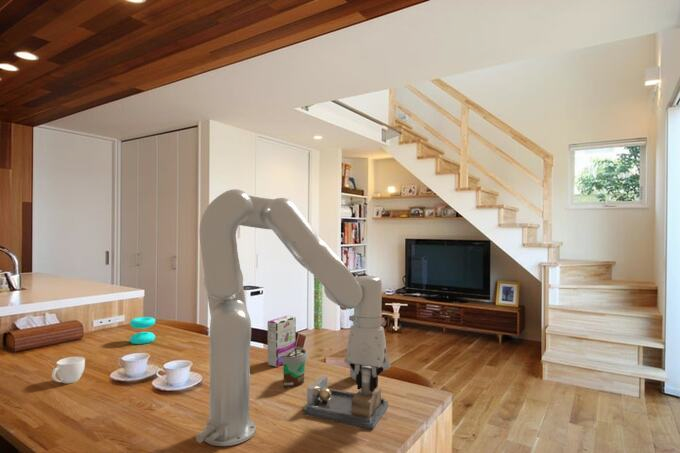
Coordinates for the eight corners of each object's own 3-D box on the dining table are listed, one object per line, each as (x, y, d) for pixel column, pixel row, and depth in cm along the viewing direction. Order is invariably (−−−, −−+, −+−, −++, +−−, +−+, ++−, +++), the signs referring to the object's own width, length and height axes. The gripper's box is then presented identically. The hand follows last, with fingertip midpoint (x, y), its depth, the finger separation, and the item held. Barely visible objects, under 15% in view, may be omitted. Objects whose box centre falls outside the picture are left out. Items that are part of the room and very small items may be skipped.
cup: (90, 378, 133) (90, 358, 133) (61, 389, 124) (61, 368, 124) (73, 375, 135) (73, 355, 135) (43, 386, 126) (43, 365, 126)
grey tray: (373, 429, 101) (373, 403, 101) (302, 414, 109) (303, 390, 109) (388, 406, 114) (388, 384, 114) (324, 394, 122) (324, 373, 122)
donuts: (137, 316, 180) (159, 316, 180) (137, 338, 180) (159, 338, 180) (125, 321, 170) (148, 321, 170) (124, 344, 170) (148, 345, 170)
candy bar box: (286, 357, 157) (286, 315, 157) (296, 359, 154) (296, 316, 154) (266, 365, 147) (266, 320, 147) (276, 367, 145) (277, 322, 145)
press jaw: (369, 417, 104) (369, 375, 104) (351, 414, 106) (351, 372, 106) (380, 402, 113) (381, 363, 113) (363, 399, 115) (364, 361, 115)
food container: (301, 391, 125) (301, 359, 125) (282, 389, 126) (282, 357, 126) (311, 376, 137) (312, 347, 137) (294, 375, 138) (294, 346, 138)
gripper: (334, 321, 109) (333, 389, 109) (393, 328, 103) (392, 399, 103) (344, 316, 116) (344, 379, 116) (400, 321, 110) (399, 388, 110)
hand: (366, 388), depth 109 cm, fingers closed on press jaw, 3 cm apart
